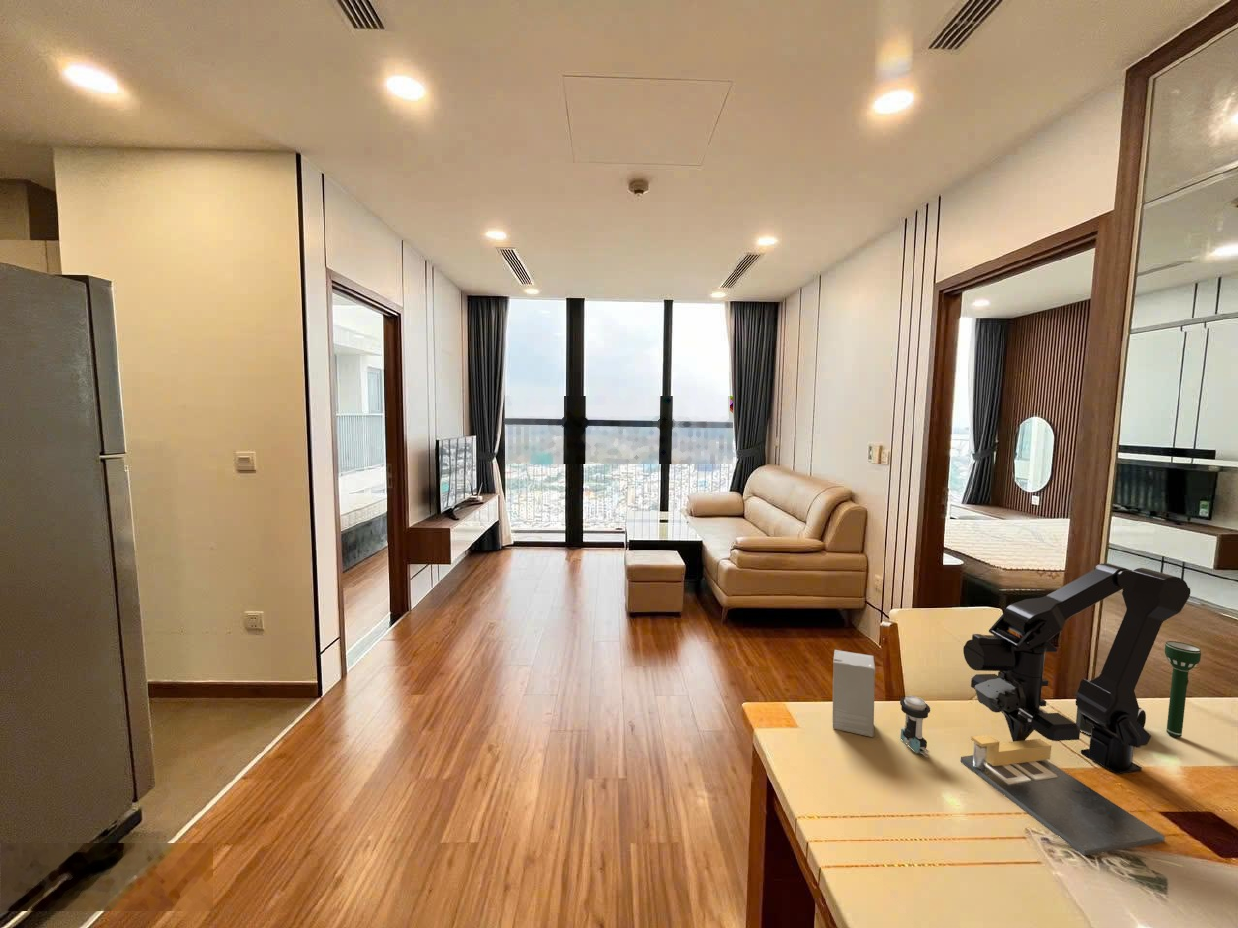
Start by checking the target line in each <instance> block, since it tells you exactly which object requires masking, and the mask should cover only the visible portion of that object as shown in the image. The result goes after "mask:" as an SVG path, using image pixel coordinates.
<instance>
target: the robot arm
mask: <svg viewBox="0 0 1238 928" xmlns="http://www.w3.org/2000/svg"><path fill="white" fill-rule="evenodd" d="M1121 590H1122V591H1121ZM1119 591H1121V594H1122V598H1123V602H1124V604H1125V608H1126V611H1125V613H1124V616H1123V618H1122V620H1121V623H1120V625H1119V628H1118V629H1117V633H1116V635H1115V637H1114V640H1113V643H1112V645H1111V648H1110V649H1109V652H1108V654H1107V657H1106V659H1105V662H1104V664H1103V667H1102V670H1100V671H1101V672H1100V674H1099V675H1098V676H1096V677H1094V678H1093V679H1091V680H1088V679H1086V678H1083V679H1081V681H1080V683H1079V686H1078V689H1077V691H1076V692H1075V693H1074V695H1073V696H1074V697H1076V699H1075V707H1078V709H1079V711H1080V713H1081V716H1082V719H1083V720H1085V721H1087V722H1089V723H1090V724H1092V725H1093V728H1092V731H1091V736H1089V737H1090V738H1089V748H1086V749H1080V753H1081V754H1082V755H1083V756H1084V757H1087V758H1088V759H1090V760H1091V761H1094V762H1095V763H1097V764H1099V765H1101V766H1102V767H1104V768H1106V769H1107V770H1109V771H1111V772H1112V773H1114V774H1118V775H1119V774H1126V773H1127V774H1128V773H1132V772H1138V771H1140V772H1141V771H1142V769H1143V768H1142V766H1141V765H1138V764H1137V763H1135V762H1133V759H1134V749H1135V748H1136V749H1137V748H1138V749H1139V748H1140V749H1141V746H1143V747H1144V746H1148V744H1149V742H1150V740H1151V737H1152V736H1151V734H1150V733H1149V732H1148V731H1147V730H1146V729H1145V727H1144V728H1143V727H1142V726H1141V725H1140V724H1139V723H1138V722H1137V717H1138V712H1139V707H1140V705H1139V702H1138V699H1137V696H1136V693H1135V689H1136V686H1137V684H1138V682H1139V679H1140V678H1141V675H1142V672H1143V670H1144V668H1145V666H1146V663H1147V661H1148V657H1150V653H1151V650H1152V648H1153V646H1154V644H1155V641H1156V639H1157V636H1158V634H1159V631H1160V630H1161V627H1162V624H1163V622H1165V621H1167V620H1169V619H1170V618H1172V617H1174V616H1176V615H1178V614H1180V613H1181V611H1182V610H1183V608H1184V607H1185V606H1186V603H1187V601H1189V599H1190V595H1191V587H1189V586H1188V583H1187V582H1186V581H1185V580H1184V579H1183V578H1181V577H1178V576H1175V575H1172V574H1171V575H1170V574H1167V573H1165V572H1160V571H1157V570H1154V569H1149V568H1146V567H1139V568H1136V569H1133V570H1132V569H1130V568H1125V567H1123V566H1120V565H1115V564H1112V563H1109V562H1107V563H1099V564H1097V565H1096V566H1095V567H1094V568H1093V570H1091V571H1088V572H1087V573H1086V574H1083V575H1082V576H1080V577H1078V578H1076V579H1074V580H1072V581H1071V582H1068V583H1067V584H1064V585H1063V586H1061V587H1060V588H1058V589H1056V590H1055V591H1052V592H1051V593H1048V594H1047V595H1045V596H1041V597H1035V598H1025V599H1023V600H1020V601H1017V602H1014V603H1011V604H1009V605H1008V606H1007V607H1005V609H1004V610H1003V611H1004V612H1003V614H1001V616H999V618H998V619H997V620H996V621H995V622H994V623H993V625H992V626H991V627H990V628H989V629H988V633H989V634H980V633H972V636H971V639H968V640H967V641H966V642H965V644H964V645H963V655H964V656H963V657H964V660H965V662H966V664H967V665H968V666H969V667H970V668H971V669H972V670H973V671H981V672H987V671H988V672H997V674H996V673H983V674H982V673H980V674H979V673H978V674H974V675H973V676H972V677H971V681H970V682H971V683H970V687H971V688H972V689H973V690H975V694H976V697H977V700H978V701H977V702H979V704H982V705H983V706H985V707H986V708H988V709H989V711H991V712H993V713H1000V712H1001V713H1002V714H1003V716H1004V718H1005V720H1006V724H1007V727H1008V730H1009V733H1010V736H1011V741H1012V742H1014V741H1023V740H1027V738H1028V737H1029V736H1030V735H1031V734H1032V733H1033V732H1034V731H1035V732H1037V733H1038V734H1039V735H1041V736H1042V737H1044V738H1045V739H1046V740H1050V741H1052V742H1061V741H1079V740H1080V736H1081V732H1080V728H1079V727H1078V726H1077V724H1076V722H1074V721H1072V720H1071V719H1069V718H1067V717H1065V716H1064V715H1063V714H1061V713H1059V712H1048V711H1046V710H1045V709H1043V708H1042V707H1046V706H1047V700H1045V699H1043V698H1042V689H1043V688H1042V687H1048V686H1049V680H1047V679H1045V678H1044V668H1045V659H1046V653H1056V652H1058V648H1057V647H1055V646H1054V644H1052V643H1051V641H1050V640H1051V639H1052V638H1054V637H1055V636H1056V635H1057V634H1059V633H1060V632H1061V631H1062V630H1063V629H1064V627H1065V626H1064V625H1065V623H1066V621H1068V619H1070V618H1071V617H1073V616H1075V615H1077V614H1079V613H1081V612H1083V611H1085V610H1086V609H1088V608H1090V607H1092V606H1093V605H1095V604H1097V603H1099V602H1101V601H1102V600H1105V599H1106V598H1108V597H1110V596H1112V595H1113V594H1116V593H1118V592H1119ZM1009 630H1010V631H1012V632H1014V633H1016V634H1018V635H1020V636H1021V637H1022V638H1021V637H1020V636H1017V635H1015V634H1014V633H1011V632H1010V631H1009Z"/></svg>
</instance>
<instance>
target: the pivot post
mask: <svg viewBox="0 0 1238 928" xmlns="http://www.w3.org/2000/svg"><path fill="white" fill-rule="evenodd" d="M986 754H987V746H985V747H981V746H979V745H978V744H977V743H975V742H974V741H973V753H972V755H973V766H974V767H975V768H977V769H979V770H985V768H986Z"/></svg>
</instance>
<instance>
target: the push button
mask: <svg viewBox="0 0 1238 928" xmlns="http://www.w3.org/2000/svg"><path fill="white" fill-rule="evenodd" d="M899 704H900V706H901V708H900V709H901V711H902V712H903V713H904V714H905V724H904V728H901V729H900V740H901V739H902V740H903V741H904V743H903V745H904V744H905V745H906V743H907V745H906V746H907V747H908V745H909V746H910V747H911V748H912V749H913V750H914V751H915V752H916V753H919V754H922V755H923V757H925V758H929V757H930V756H929V753H930V751H929V750H928V749H927V746H928V744H927V743H928V742H927V740H926V739H925V737H923V724H924V723H923V722H924V721H923V720H924V719H926V718H929V713H931V707H930V705H928V704H927V703H926V701H925V699H922V698H921V697H918V696H916V695H906V696H905V697H903V698H901V699H899ZM905 745H904V746H905ZM906 746H905V747H906ZM907 747H906V748H907ZM908 748H909V747H908ZM913 750H912V751H913ZM914 751H913V752H914ZM915 752H914V753H915ZM916 753H915V754H916ZM927 753H928V754H927Z"/></svg>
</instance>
